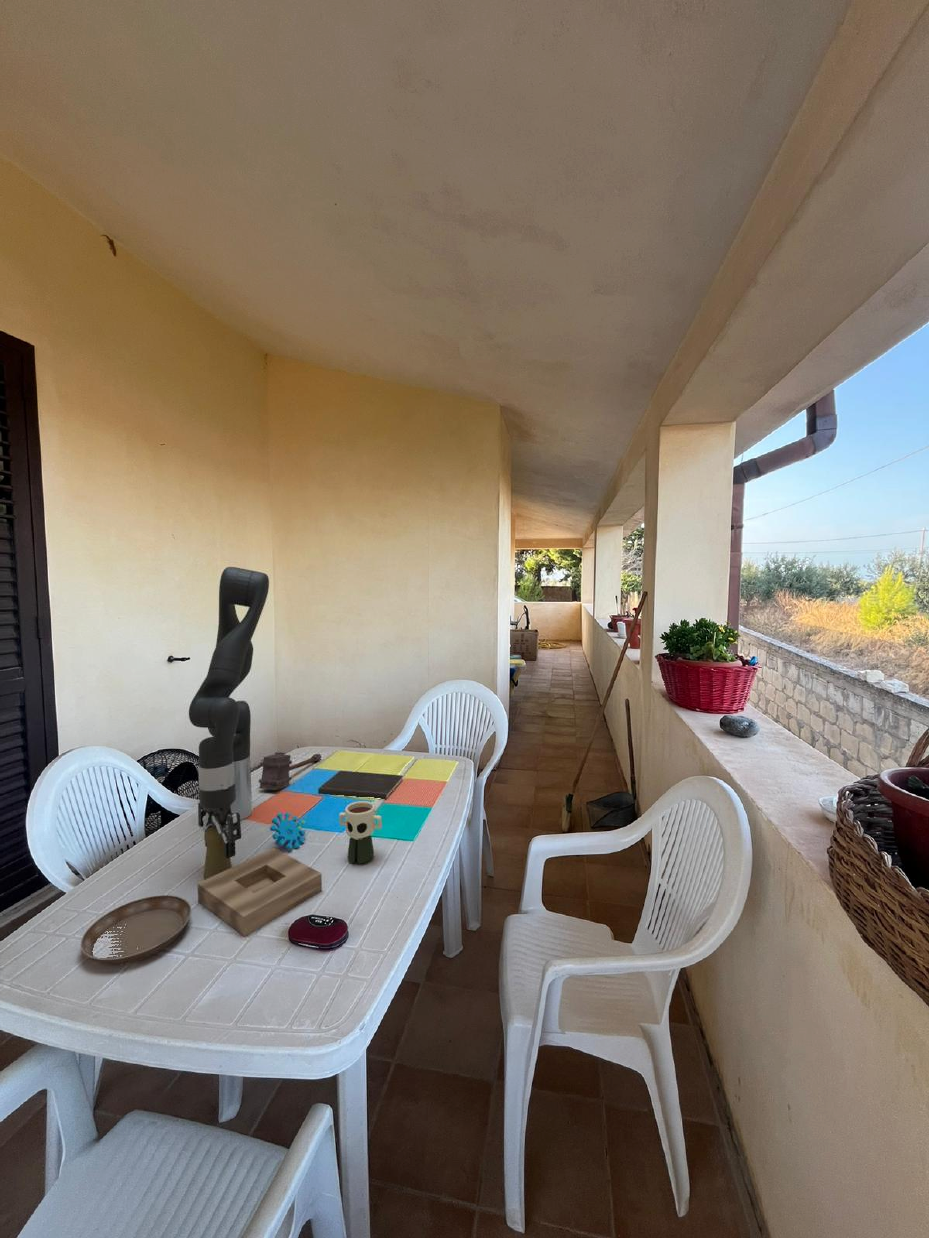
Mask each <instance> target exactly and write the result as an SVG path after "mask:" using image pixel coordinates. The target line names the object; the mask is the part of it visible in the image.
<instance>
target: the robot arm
mask: <svg viewBox="0 0 929 1238" xmlns="http://www.w3.org/2000/svg"><path fill="white" fill-rule="evenodd" d="M269 578H270V577H269V576H268V574H267V573H265V572H261V571H256V570H251V569H248V568H247V569H245V568H241V567H236V566H226V568H224V570H223V571H222V573H221V576H220V580H219V586H218V587H219V588H218V625H217V626H218V627H217V635H216V643H215V648H214V651H213V653H212V656H211V660H210V663H209V667H208V671H207V674H206V677H205V678H204V680H203V681H202V683H201V685H200V686H199V688H198V690H197V692H196V693H195V694H194V697H193V698H192V700H191V702H190V704H189V708H188V719H189V721H190V723H191V725H192V726H194V727H197V728H203V729H204V728H205V729H208V730H207V731H208V733H209V734H210V737H209V736H208V737H206V738H204V739H202V740H201V741H200V742H199V745H198V762H199V764H198V765H199V766H198V767H199V768H198V791H199V793H198V796H199V802H198V804H197V807H198V808H197V813H198V814H197V818H198V822H197V823H198V827H199V828H201V829H202V832H204V833H205V832H206V830H207V829H208V828H210V827H212V826H215V827H216V828H217V830H218V833H219V834H220V835H222V837H223V839H224V853H225V858H227V859H228V858H230V859H232V857H234V856H236V852H237V851H236V841H237V840H238V841H239V840H240V839H242V827H241V821H243V820H245V819H246V818H249V817H250V816H251V815H252V813H253V808H252V807H253V806H252V805H253V802H252V775H251V774H252V773H251V772H252V771H251V769H252V768H251V727H252V726H251V725H252V722H251V721H252V719H251V718H252V717H251V709H250V705H249V703H248V702H247V701H246V700H237V701H236V700H235V699H234V698H232V697H231V694H232V693H233V692H234V691H235V690H236V688H238V687H239V686H240V685H241V683H243V682H244V680H245V679H246V677H247V676H248V675H249V674H250V671H251V669H252V665H253V656H254V646H253V643H252V638H253V636H254V634H255V631H256V628H257V626H258V623H259V621H260V618H261V616H262V612H263V611H264V607H265V606H266V605H265V604H266V601H267V600H268V599H267V598H268V594H269V588H270V579H269ZM236 606H241V607H247V608H248V609H247V611H246V613H245V616H244V617H243V618H242V619H241V621H240V620H239V617H238V615H237V610H236ZM203 818H204V819H203ZM225 826H227V828H223V827H225ZM226 832H228V836H227V834H226ZM204 846H205V847H206V848H207V843H206V842H205V841H204Z"/></svg>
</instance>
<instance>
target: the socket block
mask: <svg viewBox="0 0 929 1238" xmlns="http://www.w3.org/2000/svg"><path fill="white" fill-rule="evenodd" d="M322 880H323V878H322V872H319V871H318V870H316V869H314V868H312V867H311V866H308V865H307V864H305V863H303V862H301V861H299V860H297V859H295V858H293V857H292V856H290V855H288V854H286V853H284V852H282V851H281V850H279V849H277V848H275V847H272V848H270V849H268V850H266V851H264V852H262V853H260V854H257V855H256V856H253V857H251V858H249V859H247V860H245V861H242V862H241V863H238V864H236V865H234V866H232V868H229V869H227V870H225V871H223V872H221V873H219V874H217V875H214V876H212V877H210V878H208V879H204V880H202V881H200V882H197V884H196V885H197V902H198V903H199V904H201V905H202V906H203V907H205V908H206V909H207V910H208V911H210V912H211V913H213V914H214V915H216V916H217V918H219V919H220V920H221V921H223V922H225V924H226V925H228V926H230V927H231V928H233V930H234V931H236V932H237V933H239V934H240V935H242V936H243V937H247V936H248V935H250V934H251V933H254V932H255V931H257V930H259V929H260V928H262V927H263V926H265V925H267V924H268V923H270V922H272V921H274V920H275V919H277V918H278V917H281V916H282V915H284V914H285V913H287V912H289V911H290V910H292V909H294V908H295V907H297V906H299V905H300V904H303V903H304V902H306V901H307V900H309V899H310V898H312V897H314V896H315V895H317V894H319V893H321V892H322V891H323V889H322V888H323V887H322V885H323V884H322Z"/></svg>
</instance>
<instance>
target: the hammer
mask: <svg viewBox="0 0 929 1238" xmlns="http://www.w3.org/2000/svg"><path fill="white" fill-rule="evenodd" d="M320 758H321V759H322V754H320V753H315V754H313V755H312V756H311V757H310V758H308V759H305V760H303V761H301V762H298V763H295V764H292V763H293V761H292V760H291V754H282V753H281V754H280V753H276V754H271V755H266V756H263V760H262V761H263V762H260V766H261V767H262V772H261V773H262V774H261V778H259V779H258V783H259V787H258V788H259V789H262V790H268V791H269V790H270V791H277V790H281V789H284V788H287V787H290V781H292V777H291V776H290V771H293V770H296V769H299V768H301V767H304V766H306V765H310V764H312V763H317V762H316V761H319V760H320V761H321V759H320ZM320 761H319V762H320Z"/></svg>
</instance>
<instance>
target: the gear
mask: <svg viewBox="0 0 929 1238" xmlns="http://www.w3.org/2000/svg"><path fill="white" fill-rule="evenodd" d="M290 817H291V813H289V812H286V813H284V814H283V813H277V814H276V817H274V818H272V820H271V821H270V822H271V826H270V827H269V831H271V832H274V833H273V834H272V835H271V836H272V840H275V843H276V844H278V846H279V847H283V845H285V843H286V842H287V844H286V846H285V848H286V849H287V850H290V851H291V850H292V848H294V849H299V847H301V845H302V844H303V843H304V842H305V838H304V836H306V832H307V831H306V830H305V829H303V830H302V828H303V827H304V825H305V824H306V821H305V820H304V819H302V820H301V821H300V822H299V823H296V822H298V820H299V818H298V817H297V816H296V815H294V816H293V817H291V819H289V818H290ZM283 818H284V819H283ZM293 843H294V844H293Z"/></svg>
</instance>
